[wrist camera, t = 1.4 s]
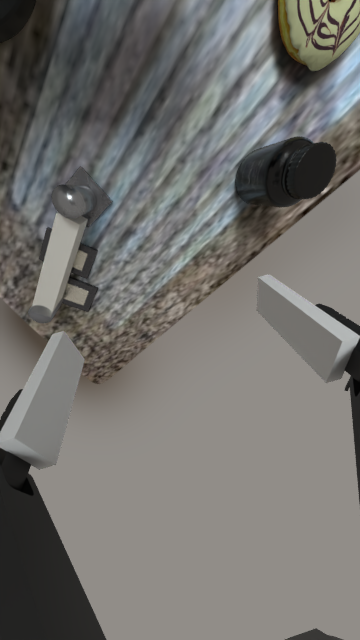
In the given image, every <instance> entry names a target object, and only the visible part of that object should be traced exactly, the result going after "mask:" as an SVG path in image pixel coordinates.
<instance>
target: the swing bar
mask: <svg viewBox="0 0 360 640" xmlns="http://www.w3.org/2000/svg"><path fill="white" fill-rule="evenodd" d="M87 221H88V219H86V218H84V217H83V216H80V217H78V218H75V219H70V218H66V217H64V216H63V215H61V214H60V213H59V212H57V213H56V216H55V220H54V224H53V228H52V231H51V235H50V239H49V243H48V247H47V251H46V255H45V258H44V262H43V266H42V270H41V274H40V278H39V282H38V285H37V289H36V293H35V297H34V301H33V305H32V307H31V308H30V309H29V316H30V317H31V318H32V319H33V320H34V321H36V322H38V323H48V322H50V321H51V320H52V319H53V317H54V315H55V314H56V312H57V311H58V309H59V308H60V306H61V304H62V303H63V294H64V291H65V288H66V285H67V282H68V279H69V276H70V273H71V270H72V267H73V264H74V261H75V258H76V255H77V252H78V248H79V245H80V242H81V239H82V236H83V233H84V230H85V227H86V224H87Z"/></svg>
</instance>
